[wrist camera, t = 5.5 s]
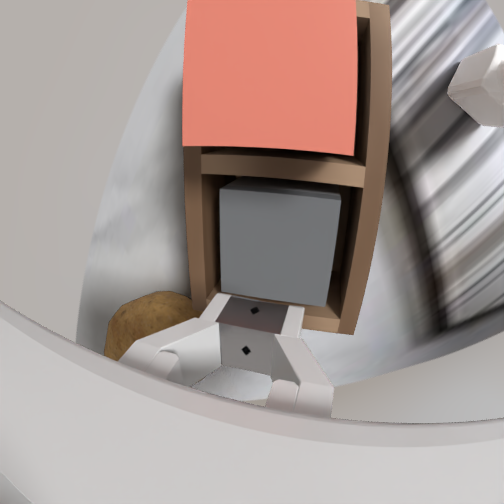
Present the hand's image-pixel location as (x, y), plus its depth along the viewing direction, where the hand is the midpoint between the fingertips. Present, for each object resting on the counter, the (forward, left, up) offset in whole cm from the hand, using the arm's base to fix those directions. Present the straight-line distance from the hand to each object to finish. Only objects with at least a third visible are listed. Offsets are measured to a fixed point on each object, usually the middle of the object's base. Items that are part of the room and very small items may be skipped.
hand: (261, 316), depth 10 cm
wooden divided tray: (+1, -4, -13) cm, 14 cm away
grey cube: (+1, 0, -12) cm, 12 cm away
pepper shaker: (-12, -11, -13) cm, 21 cm away
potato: (+11, +13, -13) cm, 21 cm away
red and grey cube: (+1, -8, -8) cm, 11 cm away
